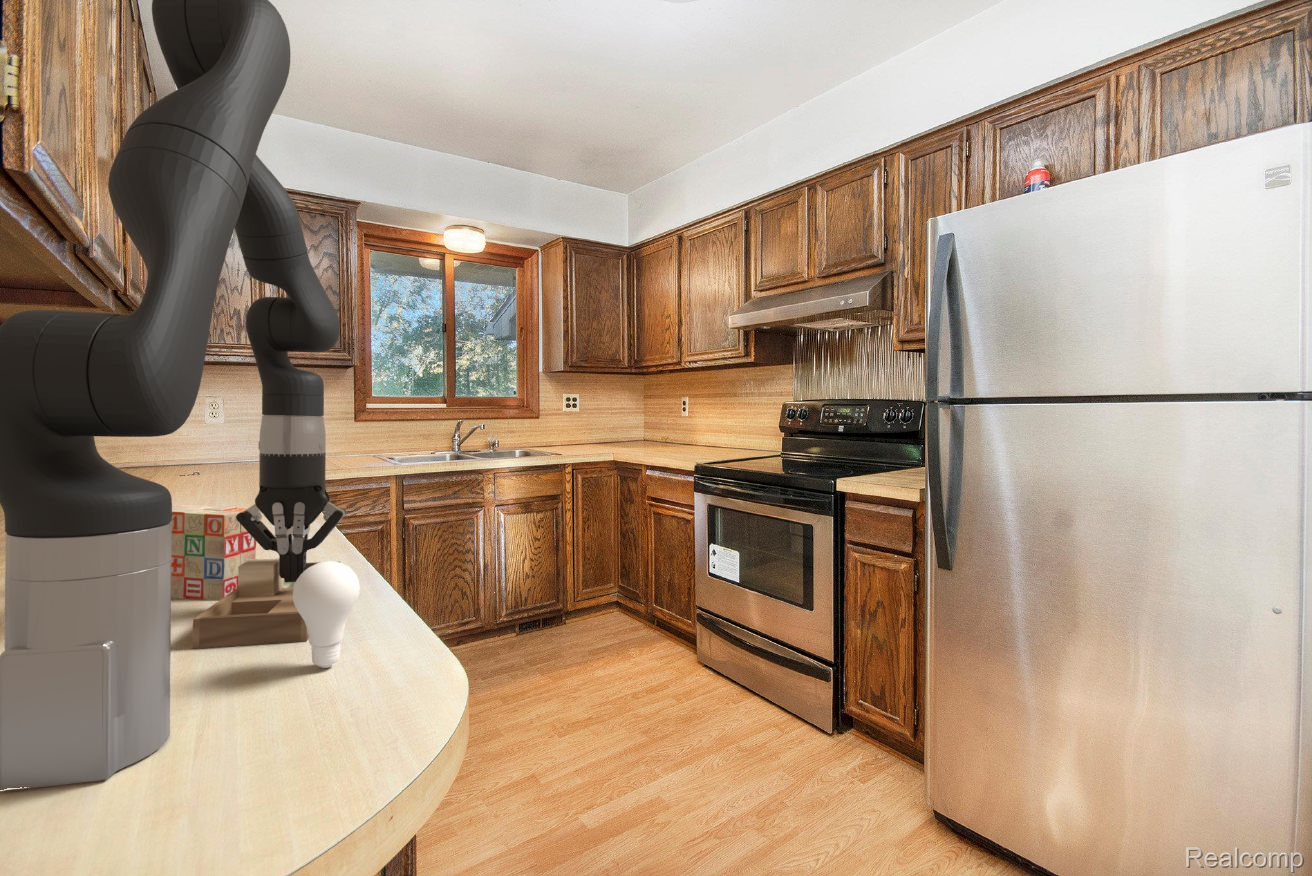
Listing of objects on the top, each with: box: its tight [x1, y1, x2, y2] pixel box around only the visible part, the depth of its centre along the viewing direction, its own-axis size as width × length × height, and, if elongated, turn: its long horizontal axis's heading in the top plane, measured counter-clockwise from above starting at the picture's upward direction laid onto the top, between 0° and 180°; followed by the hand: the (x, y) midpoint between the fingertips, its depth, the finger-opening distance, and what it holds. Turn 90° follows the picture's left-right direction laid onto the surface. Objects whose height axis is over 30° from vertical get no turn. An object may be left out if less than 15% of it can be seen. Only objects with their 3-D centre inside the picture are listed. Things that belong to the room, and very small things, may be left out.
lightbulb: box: [293, 560, 361, 669], centre depth 64 cm, size 6×6×11 cm
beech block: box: [238, 558, 283, 597], centre depth 81 cm, size 4×4×4 cm
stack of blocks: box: [171, 504, 257, 601], centre depth 90 cm, size 21×6×12 cm, turn 85°
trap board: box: [192, 561, 341, 650], centre depth 80 cm, size 21×11×4 cm, turn 16°
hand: (292, 580), depth 81 cm, fingers closed
